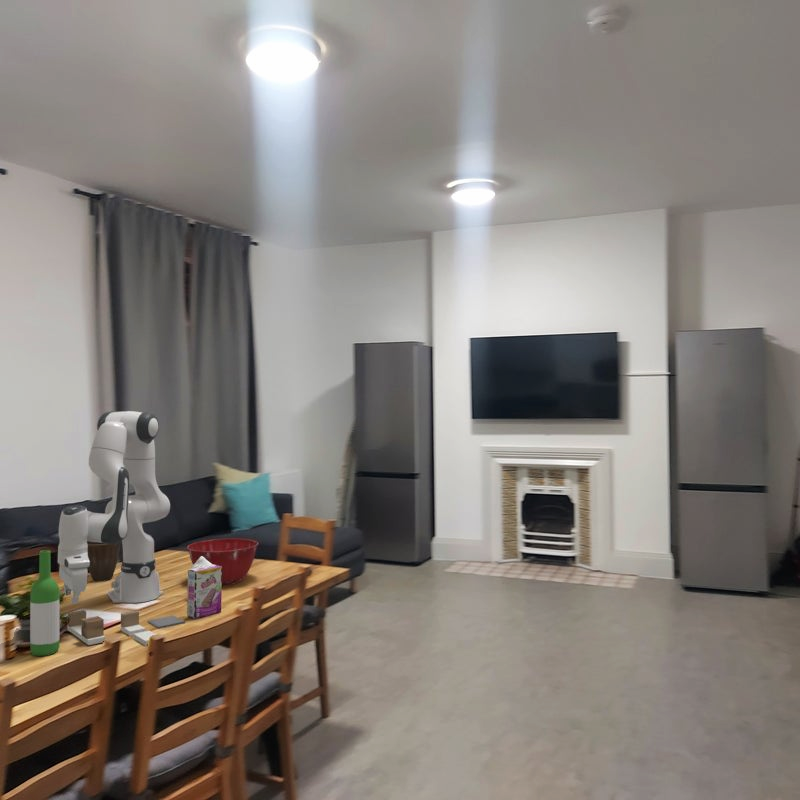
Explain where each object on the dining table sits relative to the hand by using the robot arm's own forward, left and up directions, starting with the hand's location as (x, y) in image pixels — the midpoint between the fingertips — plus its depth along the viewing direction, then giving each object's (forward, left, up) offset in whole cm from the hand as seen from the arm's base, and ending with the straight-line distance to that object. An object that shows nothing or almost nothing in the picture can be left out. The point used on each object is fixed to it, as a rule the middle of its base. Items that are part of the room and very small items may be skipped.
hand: (71, 598), depth 237 cm
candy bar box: (+13, +40, -10) cm, 44 cm away
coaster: (+13, +26, -10) cm, 31 cm away
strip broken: (+21, +14, -10) cm, 28 cm away
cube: (+16, +1, -8) cm, 18 cm away
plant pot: (-62, +31, -10) cm, 70 cm away
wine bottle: (+17, -13, -10) cm, 24 cm away
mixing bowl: (-25, +67, -10) cm, 72 cm away
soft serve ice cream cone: (-7, +49, -10) cm, 51 cm away
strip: (+10, +1, -10) cm, 14 cm away
